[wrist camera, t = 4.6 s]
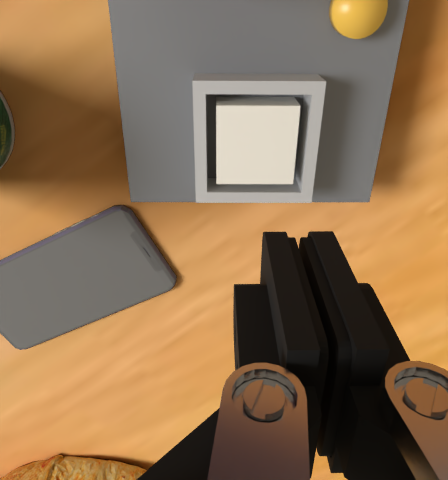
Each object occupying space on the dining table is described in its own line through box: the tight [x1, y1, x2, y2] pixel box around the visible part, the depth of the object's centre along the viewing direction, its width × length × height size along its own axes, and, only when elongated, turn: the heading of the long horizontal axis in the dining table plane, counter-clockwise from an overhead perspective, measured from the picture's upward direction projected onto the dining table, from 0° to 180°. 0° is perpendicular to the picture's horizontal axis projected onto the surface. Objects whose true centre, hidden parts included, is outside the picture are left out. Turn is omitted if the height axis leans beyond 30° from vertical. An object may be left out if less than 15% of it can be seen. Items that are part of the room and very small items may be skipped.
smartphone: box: [0, 205, 177, 350], centre depth 31 cm, size 8×1×15 cm
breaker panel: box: [108, 0, 409, 203], centre depth 20 cm, size 14×20×5 cm
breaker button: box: [216, 96, 301, 184], centre depth 22 cm, size 4×4×2 cm
